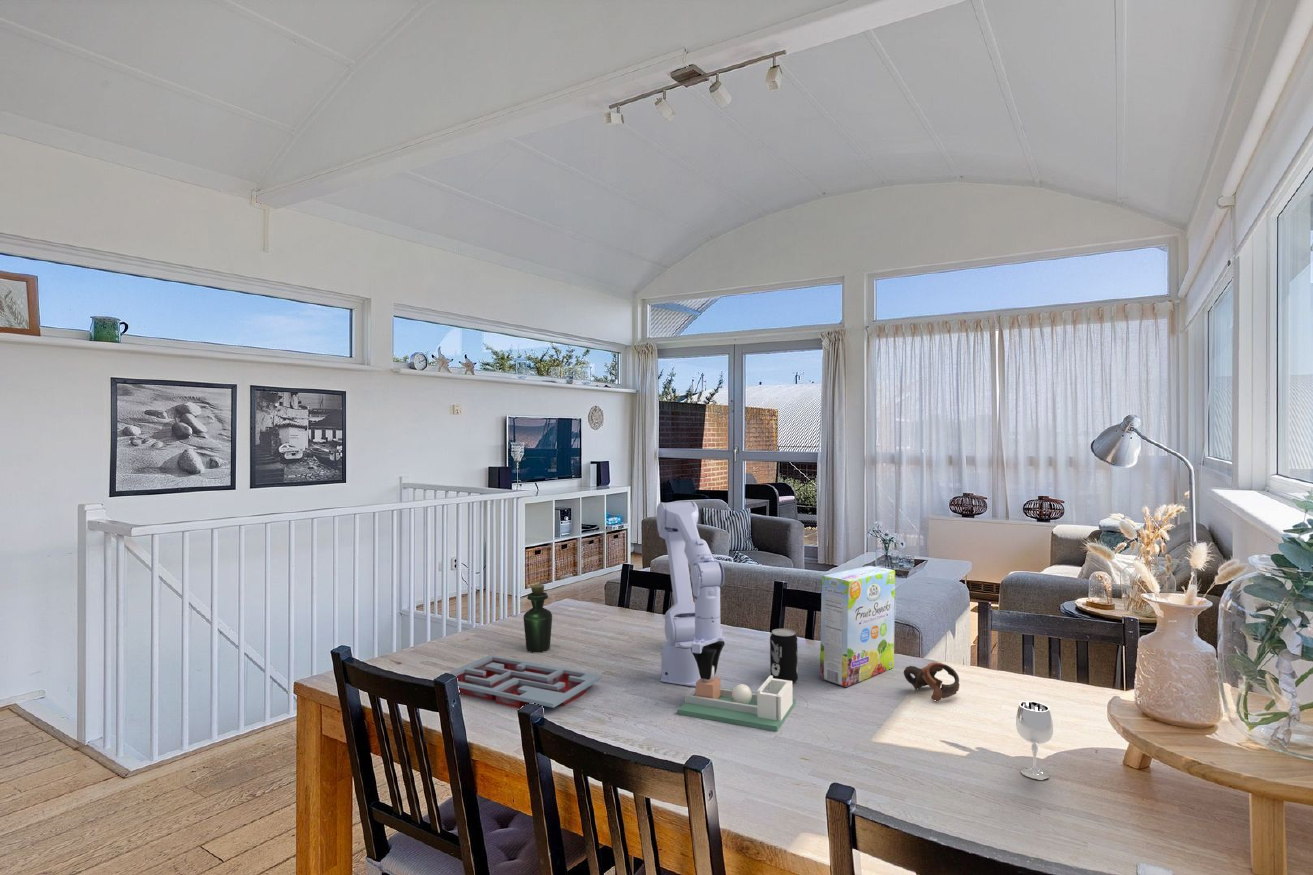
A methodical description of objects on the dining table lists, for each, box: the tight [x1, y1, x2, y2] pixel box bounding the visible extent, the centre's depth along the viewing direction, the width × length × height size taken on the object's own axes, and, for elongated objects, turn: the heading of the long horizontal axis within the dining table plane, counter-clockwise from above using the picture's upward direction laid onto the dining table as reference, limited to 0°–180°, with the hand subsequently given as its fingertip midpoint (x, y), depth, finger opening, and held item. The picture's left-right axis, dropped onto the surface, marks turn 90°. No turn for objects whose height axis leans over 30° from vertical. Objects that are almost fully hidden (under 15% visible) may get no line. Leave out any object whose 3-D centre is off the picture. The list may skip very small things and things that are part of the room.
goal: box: [756, 674, 794, 721], centre depth 148 cm, size 5×10×6 cm, turn 155°
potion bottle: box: [523, 584, 553, 653], centre depth 195 cm, size 8×8×18 cm
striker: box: [695, 665, 721, 699], centre depth 154 cm, size 4×5×7 cm
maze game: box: [433, 654, 603, 709], centre depth 165 cm, size 35×20×3 cm, turn 62°
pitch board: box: [677, 686, 797, 732], centre depth 152 cm, size 22×16×2 cm
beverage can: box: [769, 628, 799, 685], centre depth 169 cm, size 7×7×12 cm
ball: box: [732, 683, 753, 704], centre depth 151 cm, size 4×4×4 cm
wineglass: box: [1015, 700, 1054, 775], centre depth 121 cm, size 6×6×12 cm
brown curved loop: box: [903, 661, 960, 702], centre depth 159 cm, size 12×10×8 cm
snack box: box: [819, 565, 896, 688], centre depth 173 cm, size 22×9×26 cm, turn 131°
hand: (708, 676), depth 154 cm, fingers closed on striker, 3 cm apart
